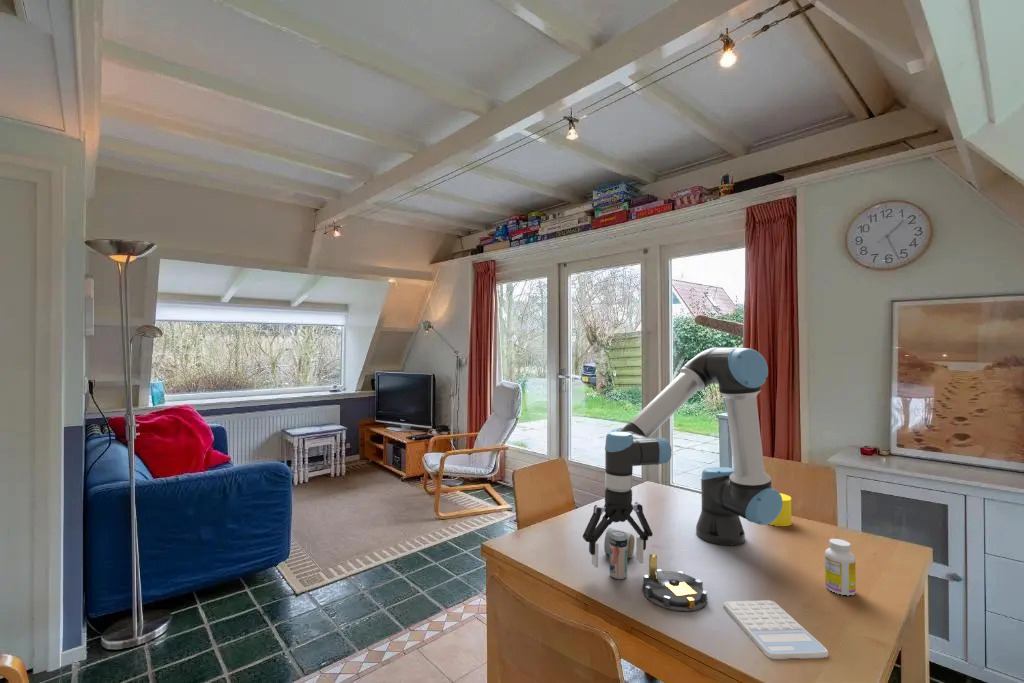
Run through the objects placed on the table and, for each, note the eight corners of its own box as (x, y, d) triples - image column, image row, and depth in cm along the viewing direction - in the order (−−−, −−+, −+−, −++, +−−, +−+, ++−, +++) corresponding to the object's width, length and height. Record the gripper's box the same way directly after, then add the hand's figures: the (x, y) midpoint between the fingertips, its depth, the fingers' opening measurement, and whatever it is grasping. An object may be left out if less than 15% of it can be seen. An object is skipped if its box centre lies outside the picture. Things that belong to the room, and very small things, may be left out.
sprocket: (652, 570, 133) (652, 542, 133) (711, 586, 124) (711, 556, 124) (635, 596, 119) (635, 565, 119) (700, 616, 111) (700, 582, 111)
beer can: (607, 572, 133) (607, 530, 133) (623, 571, 134) (623, 529, 134) (612, 580, 129) (612, 537, 129) (629, 580, 129) (629, 536, 129)
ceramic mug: (630, 563, 139) (630, 537, 139) (603, 557, 142) (603, 532, 142) (637, 549, 149) (637, 525, 149) (611, 544, 152) (611, 520, 152)
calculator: (773, 606, 117) (773, 598, 117) (831, 659, 97) (831, 650, 97) (721, 607, 117) (721, 599, 117) (769, 662, 97) (769, 652, 97)
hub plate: (690, 578, 130) (690, 576, 130) (719, 611, 114) (719, 609, 114) (634, 579, 129) (634, 577, 129) (654, 612, 113) (654, 610, 113)
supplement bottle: (850, 586, 126) (850, 538, 126) (859, 599, 120) (859, 549, 120) (821, 582, 128) (821, 535, 128) (829, 594, 122) (829, 545, 122)
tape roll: (758, 522, 170) (758, 497, 170) (761, 514, 178) (761, 490, 178) (790, 529, 164) (790, 502, 164) (792, 520, 173) (792, 494, 173)
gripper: (651, 481, 138) (650, 553, 137) (572, 486, 132) (571, 561, 132) (665, 489, 130) (664, 565, 130) (581, 494, 125) (580, 573, 125)
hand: (617, 563), depth 131 cm, fingers open, 13 cm apart
